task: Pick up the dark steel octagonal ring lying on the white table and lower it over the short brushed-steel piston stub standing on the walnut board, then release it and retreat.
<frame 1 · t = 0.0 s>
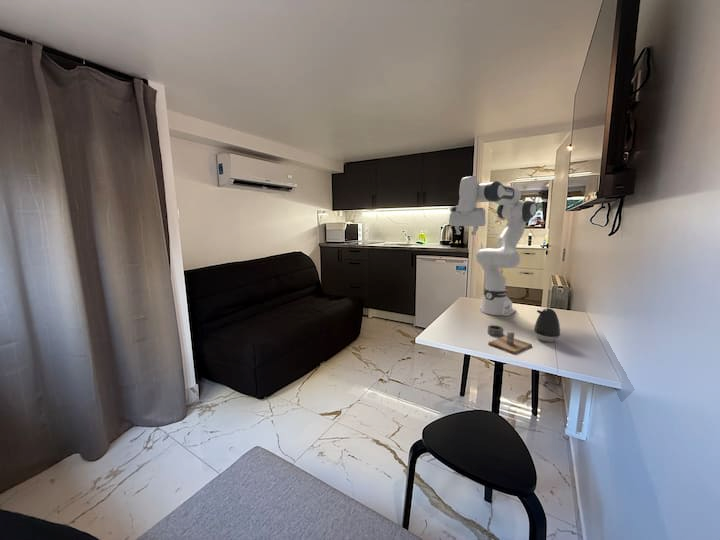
hand: (465, 234, 156), 48 cm above the table, fingers open, 8 cm apart
piston stand: (509, 345, 132), on the table
ring: (495, 333, 146), on the table
black rounded piece: (545, 340, 138), on the table
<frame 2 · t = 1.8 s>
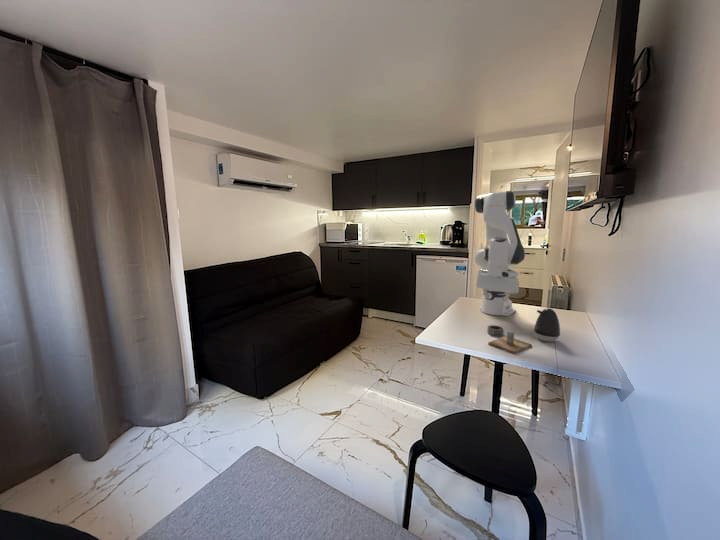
hand: (495, 299, 143), 17 cm above the table, fingers open, 8 cm apart
nothing on the table moved.
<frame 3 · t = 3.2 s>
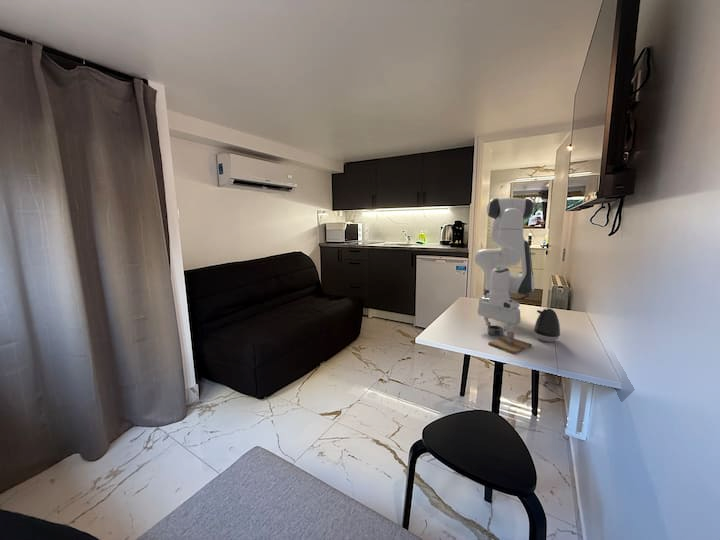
hand: (496, 328, 145), 3 cm above the table, fingers open, 8 cm apart
ring: (495, 333, 146), on the table, touching gripper
everything else where it was.
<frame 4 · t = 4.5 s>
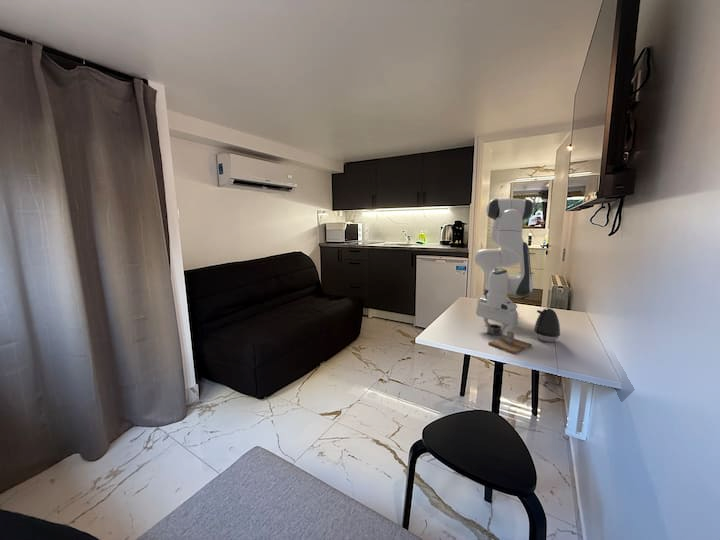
hand: (494, 329, 146), 2 cm above the table, fingers closed on ring, 7 cm apart
ring: (494, 332, 146), on the table, touching gripper
everything else where it was.
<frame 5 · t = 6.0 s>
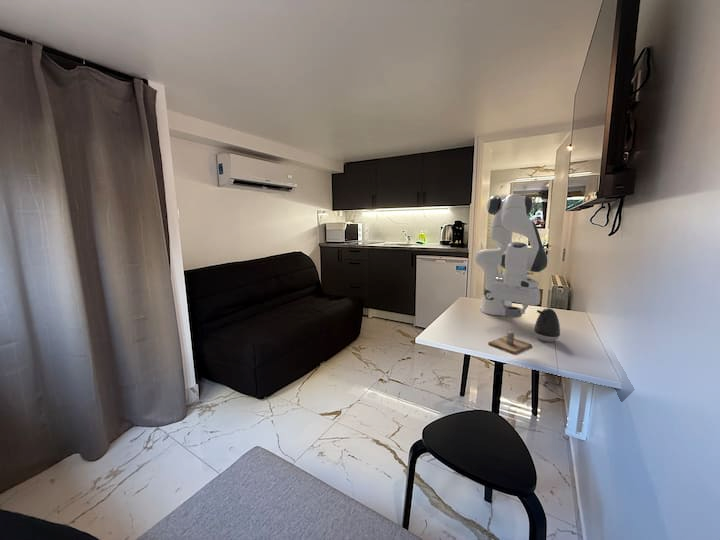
hand: (512, 311, 129), 16 cm above the table, fingers closed on ring, 7 cm apart
ring: (512, 314, 129), point 14 cm above the table, touching gripper
everything else where it was.
when the fingers open (4 cm above the table, at t = 8.3 s): ring stays where it is, resting on piston stand.
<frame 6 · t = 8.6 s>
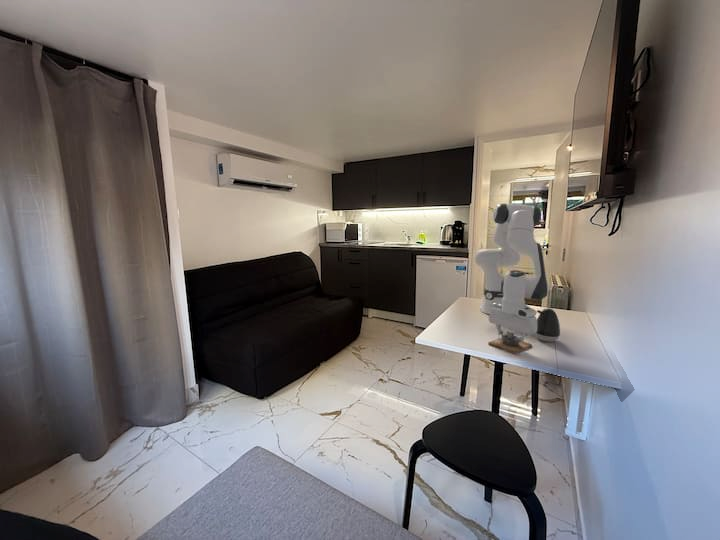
hand: (510, 337, 131), 4 cm above the table, fingers open, 8 cm apart
ring: (509, 343, 131), point 1 cm above the table, touching piston stand
everything else where it was.
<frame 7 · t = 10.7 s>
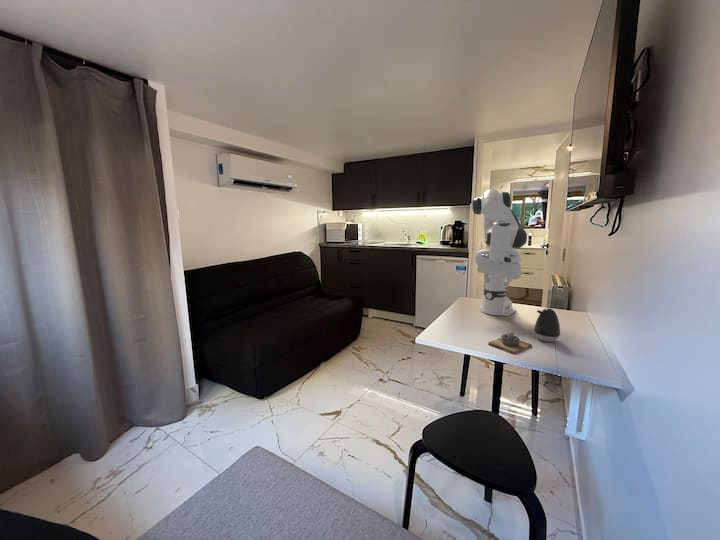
hand: (496, 284, 142), 25 cm above the table, fingers open, 8 cm apart
nothing on the table moved.
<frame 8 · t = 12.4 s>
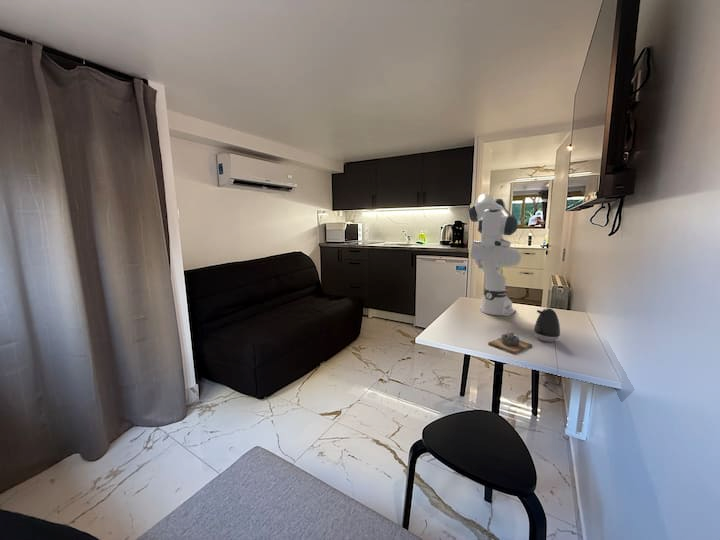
hand: (488, 269, 148), 31 cm above the table, fingers open, 8 cm apart
nothing on the table moved.
at the end: ring 0.0 cm off-centre on the piston stand, point 1.0 cm above the piston stand's base; ring tilted 0°; the gripper is holding nothing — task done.
